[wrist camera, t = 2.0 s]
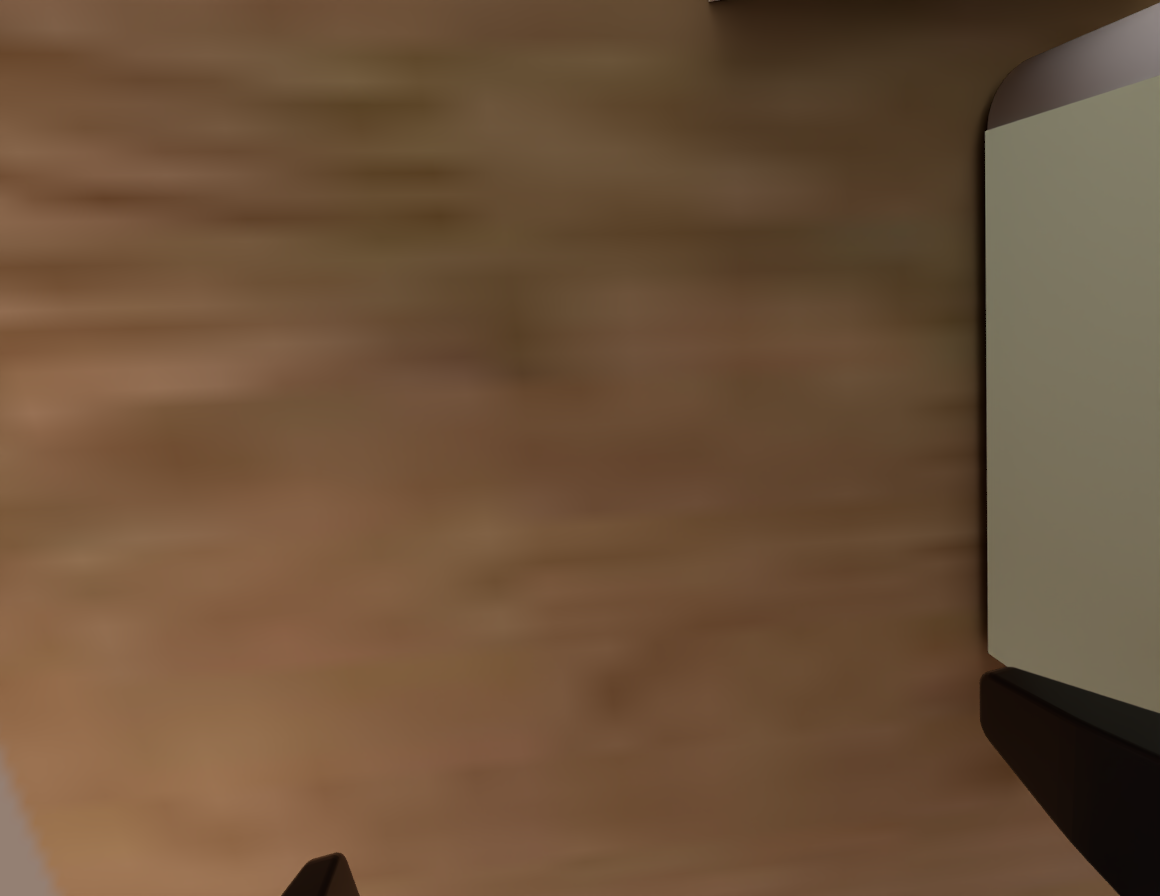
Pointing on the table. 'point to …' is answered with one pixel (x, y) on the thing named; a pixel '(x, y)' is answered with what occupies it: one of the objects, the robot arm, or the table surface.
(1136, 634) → the stool leg
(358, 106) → the table surface
